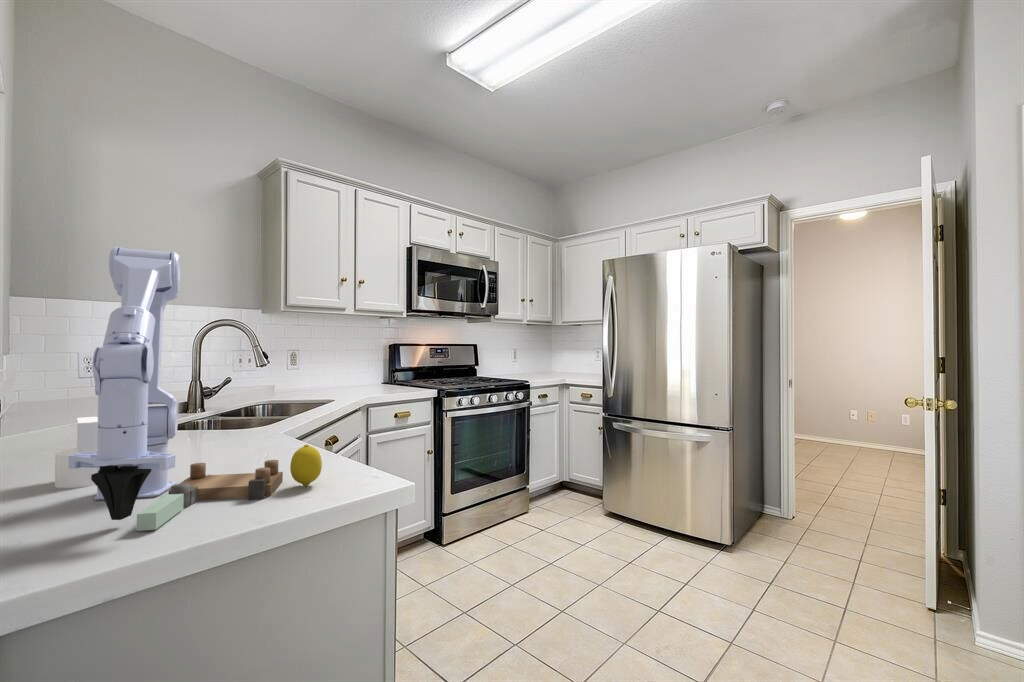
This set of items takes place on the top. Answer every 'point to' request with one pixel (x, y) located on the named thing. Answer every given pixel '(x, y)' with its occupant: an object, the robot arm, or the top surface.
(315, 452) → the lemon
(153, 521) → the pale green bar
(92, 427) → the base with upright slab
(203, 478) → the stool seat
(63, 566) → the top surface
